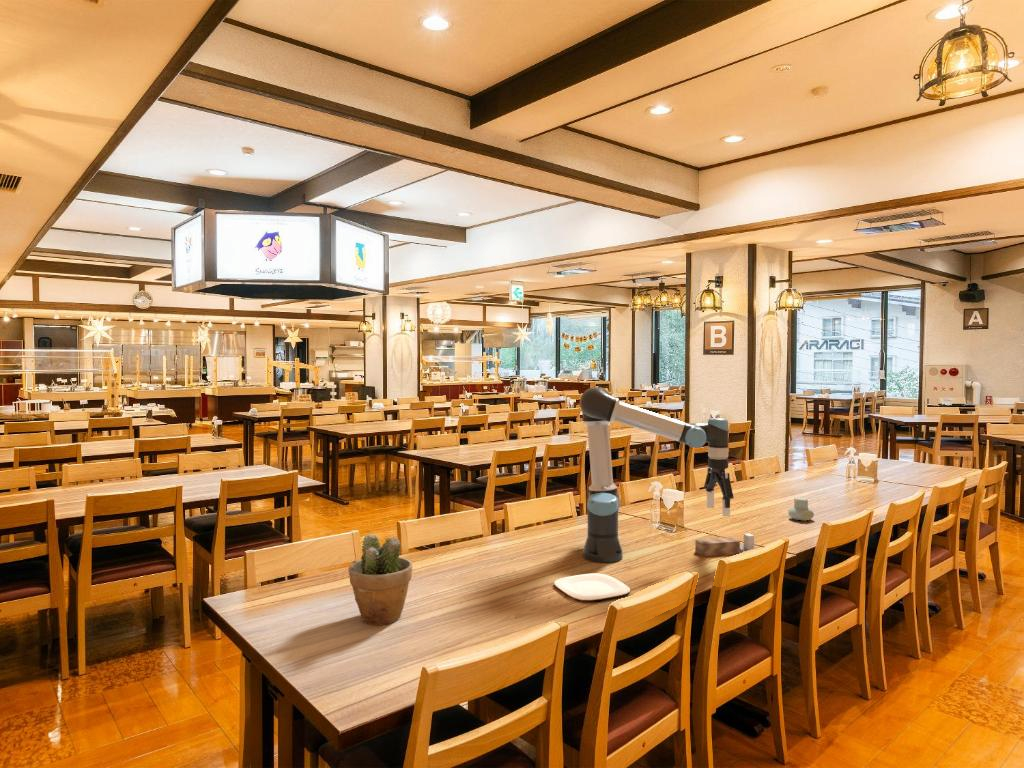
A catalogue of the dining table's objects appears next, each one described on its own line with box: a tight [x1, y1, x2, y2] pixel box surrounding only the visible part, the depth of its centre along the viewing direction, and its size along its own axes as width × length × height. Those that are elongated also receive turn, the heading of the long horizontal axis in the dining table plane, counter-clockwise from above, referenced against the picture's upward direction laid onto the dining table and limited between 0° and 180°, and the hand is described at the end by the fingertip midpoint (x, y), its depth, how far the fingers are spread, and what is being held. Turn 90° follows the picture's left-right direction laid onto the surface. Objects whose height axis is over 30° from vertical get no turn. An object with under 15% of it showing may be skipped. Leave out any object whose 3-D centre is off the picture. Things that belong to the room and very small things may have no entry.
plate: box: [554, 572, 631, 602], centre depth 207 cm, size 22×22×2 cm
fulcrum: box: [740, 533, 757, 553], centre depth 248 cm, size 7×8×6 cm
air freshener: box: [788, 497, 814, 522], centre depth 297 cm, size 11×8×10 cm
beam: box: [694, 536, 741, 557], centre depth 247 cm, size 16×6×5 cm, turn 102°
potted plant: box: [348, 534, 413, 626], centre depth 184 cm, size 18×19×25 cm
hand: (718, 511), depth 246 cm, fingers open, 13 cm apart
